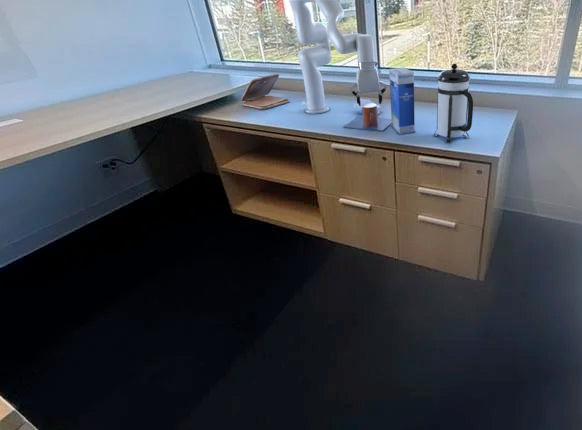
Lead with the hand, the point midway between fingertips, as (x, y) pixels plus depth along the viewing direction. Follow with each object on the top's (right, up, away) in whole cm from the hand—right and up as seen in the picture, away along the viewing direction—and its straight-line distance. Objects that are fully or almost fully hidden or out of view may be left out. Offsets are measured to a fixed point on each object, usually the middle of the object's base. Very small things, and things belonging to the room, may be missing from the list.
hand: (369, 104), depth 177 cm
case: (-63, +13, +45) cm, 79 cm away
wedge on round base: (-2, +2, +23) cm, 23 cm away
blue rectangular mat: (0, -8, +7) cm, 10 cm away
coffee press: (+37, -18, -13) cm, 43 cm away
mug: (0, -9, +4) cm, 10 cm away
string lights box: (+15, -12, -1) cm, 20 cm away
